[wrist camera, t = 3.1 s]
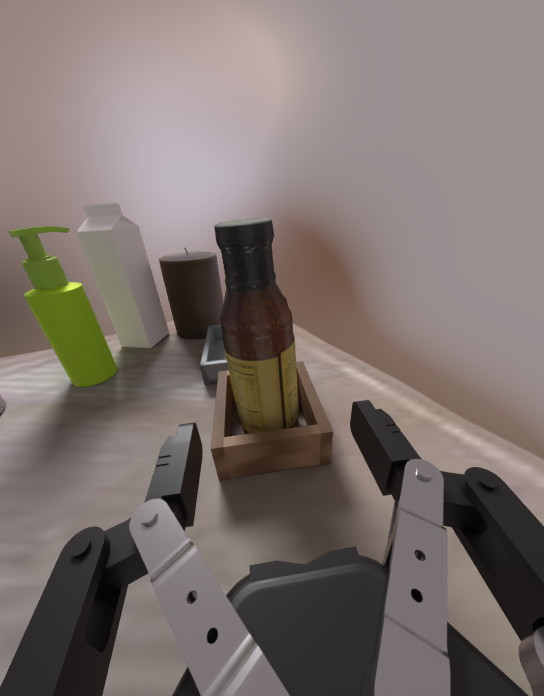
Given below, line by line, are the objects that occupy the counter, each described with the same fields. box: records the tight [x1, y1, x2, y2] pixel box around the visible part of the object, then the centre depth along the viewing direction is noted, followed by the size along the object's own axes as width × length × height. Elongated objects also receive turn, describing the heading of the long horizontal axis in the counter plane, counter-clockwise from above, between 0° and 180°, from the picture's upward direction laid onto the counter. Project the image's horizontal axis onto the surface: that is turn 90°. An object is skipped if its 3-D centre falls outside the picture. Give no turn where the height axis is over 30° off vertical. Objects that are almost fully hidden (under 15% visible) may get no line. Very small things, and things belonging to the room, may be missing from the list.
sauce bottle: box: [215, 218, 299, 434], centre depth 23 cm, size 6×6×20 cm
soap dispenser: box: [8, 226, 117, 387], centre depth 34 cm, size 6×7×20 cm
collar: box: [211, 361, 333, 480], centre depth 27 cm, size 10×11×4 cm
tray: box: [200, 325, 229, 385], centre depth 40 cm, size 11×12×3 cm
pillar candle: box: [159, 248, 223, 339], centre depth 48 cm, size 10×10×15 cm
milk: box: [77, 203, 169, 348], centre depth 43 cm, size 6×6×22 cm
